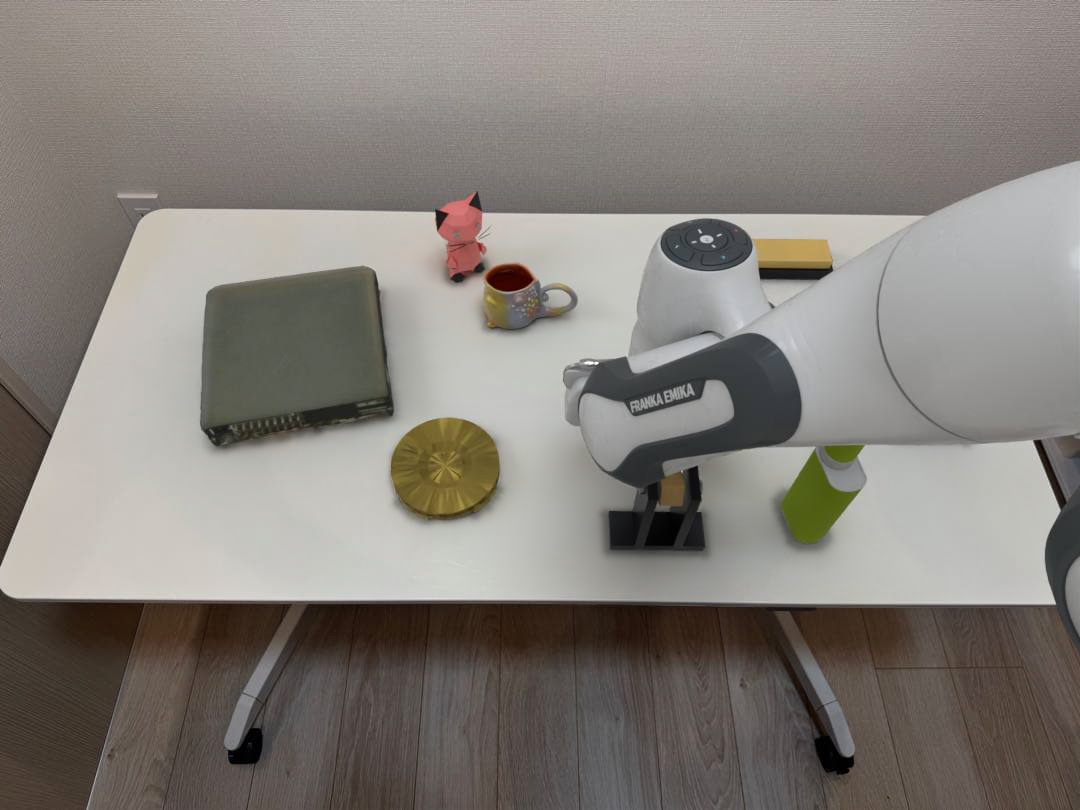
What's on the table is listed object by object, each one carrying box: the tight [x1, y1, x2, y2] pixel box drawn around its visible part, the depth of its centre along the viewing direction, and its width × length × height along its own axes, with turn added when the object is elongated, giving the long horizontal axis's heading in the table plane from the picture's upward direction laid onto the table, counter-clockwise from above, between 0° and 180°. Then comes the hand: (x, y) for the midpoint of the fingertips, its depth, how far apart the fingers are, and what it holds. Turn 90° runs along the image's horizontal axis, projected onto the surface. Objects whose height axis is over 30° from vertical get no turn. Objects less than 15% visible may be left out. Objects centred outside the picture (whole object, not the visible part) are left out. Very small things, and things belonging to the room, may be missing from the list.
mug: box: [482, 262, 579, 330], centre depth 96 cm, size 12×7×7 cm, turn 80°
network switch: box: [199, 265, 395, 447], centre depth 92 cm, size 23×23×5 cm
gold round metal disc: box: [389, 417, 501, 521], centre depth 85 cm, size 12×12×2 cm
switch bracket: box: [607, 465, 706, 552], centre depth 77 cm, size 4×10×13 cm, turn 89°
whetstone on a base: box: [752, 238, 835, 281], centre depth 102 cm, size 5×14×3 cm, turn 90°
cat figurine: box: [434, 190, 493, 284], centre depth 98 cm, size 7×7×12 cm
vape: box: [780, 445, 868, 545], centre depth 75 cm, size 4×6×20 cm, turn 11°
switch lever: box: [657, 471, 685, 507], centre depth 77 cm, size 12×5×2 cm, turn 179°
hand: (655, 436), depth 83 cm, fingers closed on switch lever, 5 cm apart
